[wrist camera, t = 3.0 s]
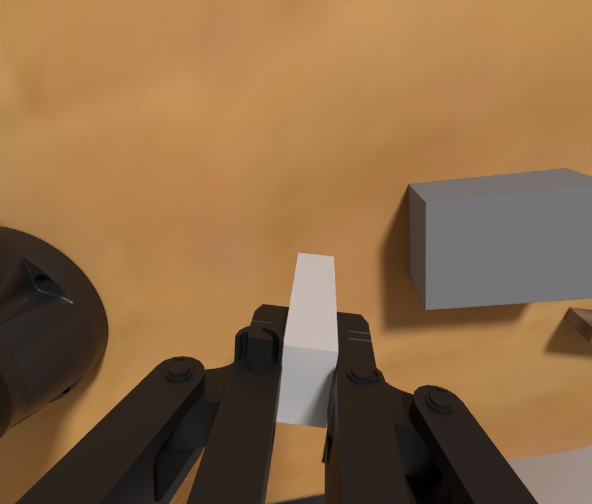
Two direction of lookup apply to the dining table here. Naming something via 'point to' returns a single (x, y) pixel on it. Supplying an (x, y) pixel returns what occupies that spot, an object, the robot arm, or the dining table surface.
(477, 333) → the dining table surface
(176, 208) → the dining table surface
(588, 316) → the rack
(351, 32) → the dining table surface
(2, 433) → the robot arm
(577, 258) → the plain gray cuboid
